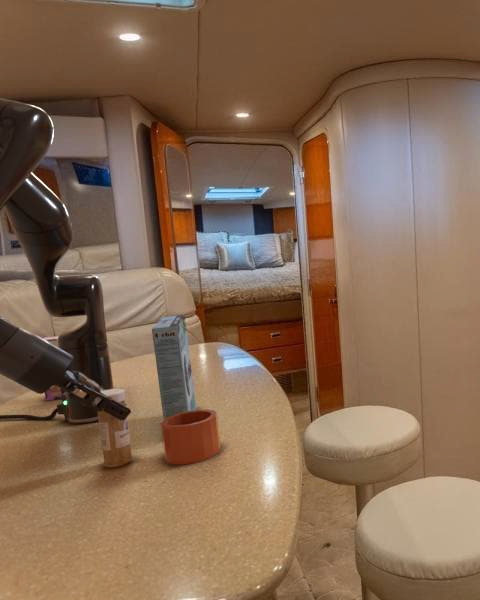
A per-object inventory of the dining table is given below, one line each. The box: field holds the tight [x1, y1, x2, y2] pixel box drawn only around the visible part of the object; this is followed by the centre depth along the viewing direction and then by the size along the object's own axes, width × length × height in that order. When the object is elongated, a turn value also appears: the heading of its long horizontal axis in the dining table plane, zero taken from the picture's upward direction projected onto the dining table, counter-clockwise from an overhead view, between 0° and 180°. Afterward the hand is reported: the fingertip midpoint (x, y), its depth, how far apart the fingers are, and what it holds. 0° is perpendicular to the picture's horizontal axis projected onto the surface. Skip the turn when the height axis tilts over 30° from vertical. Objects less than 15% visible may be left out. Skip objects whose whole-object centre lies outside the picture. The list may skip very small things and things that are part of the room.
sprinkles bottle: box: [95, 388, 134, 468], centre depth 92 cm, size 5×5×13 cm
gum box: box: [151, 314, 197, 420], centre depth 111 cm, size 20×5×23 cm, turn 23°
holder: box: [160, 408, 221, 465], centre depth 95 cm, size 9×9×7 cm
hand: (124, 412), depth 93 cm, fingers closed on sprinkles bottle, 4 cm apart
